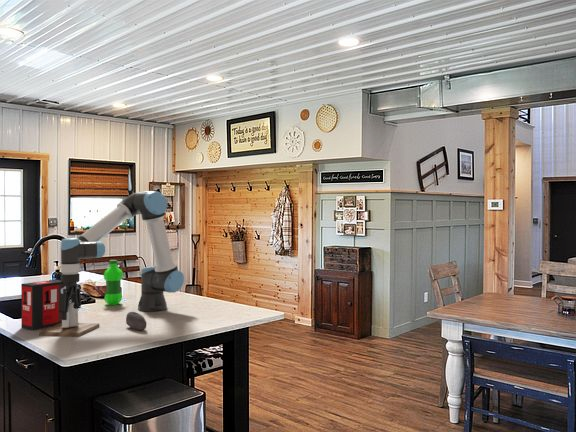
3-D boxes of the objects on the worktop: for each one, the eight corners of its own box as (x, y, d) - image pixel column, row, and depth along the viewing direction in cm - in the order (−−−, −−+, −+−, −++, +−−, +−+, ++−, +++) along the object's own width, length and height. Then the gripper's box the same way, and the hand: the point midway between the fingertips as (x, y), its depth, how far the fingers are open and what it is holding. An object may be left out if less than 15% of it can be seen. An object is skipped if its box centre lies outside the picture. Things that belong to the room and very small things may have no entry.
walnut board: (99, 326, 230) (99, 323, 230) (78, 336, 212) (78, 332, 212) (62, 325, 232) (62, 322, 232) (38, 335, 214) (38, 331, 214)
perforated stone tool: (150, 331, 222) (150, 315, 222) (139, 333, 218) (139, 317, 218) (136, 325, 233) (136, 310, 233) (125, 327, 230) (125, 312, 229)
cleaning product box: (55, 321, 241) (55, 279, 241) (66, 323, 236) (66, 281, 236) (21, 328, 227) (21, 283, 227) (32, 330, 222) (32, 285, 222)
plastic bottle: (99, 305, 282) (99, 260, 282) (112, 302, 292) (112, 259, 292) (113, 306, 279) (113, 261, 278) (126, 303, 288) (126, 259, 288)
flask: (64, 324, 225) (64, 301, 225) (81, 323, 226) (81, 301, 226) (58, 327, 218) (58, 304, 218) (76, 327, 218) (76, 304, 218)
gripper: (74, 270, 232) (74, 320, 232) (49, 276, 212) (49, 330, 212) (89, 270, 231) (89, 320, 231) (65, 276, 211) (65, 330, 211)
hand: (70, 325), depth 222 cm, fingers closed on flask, 7 cm apart
